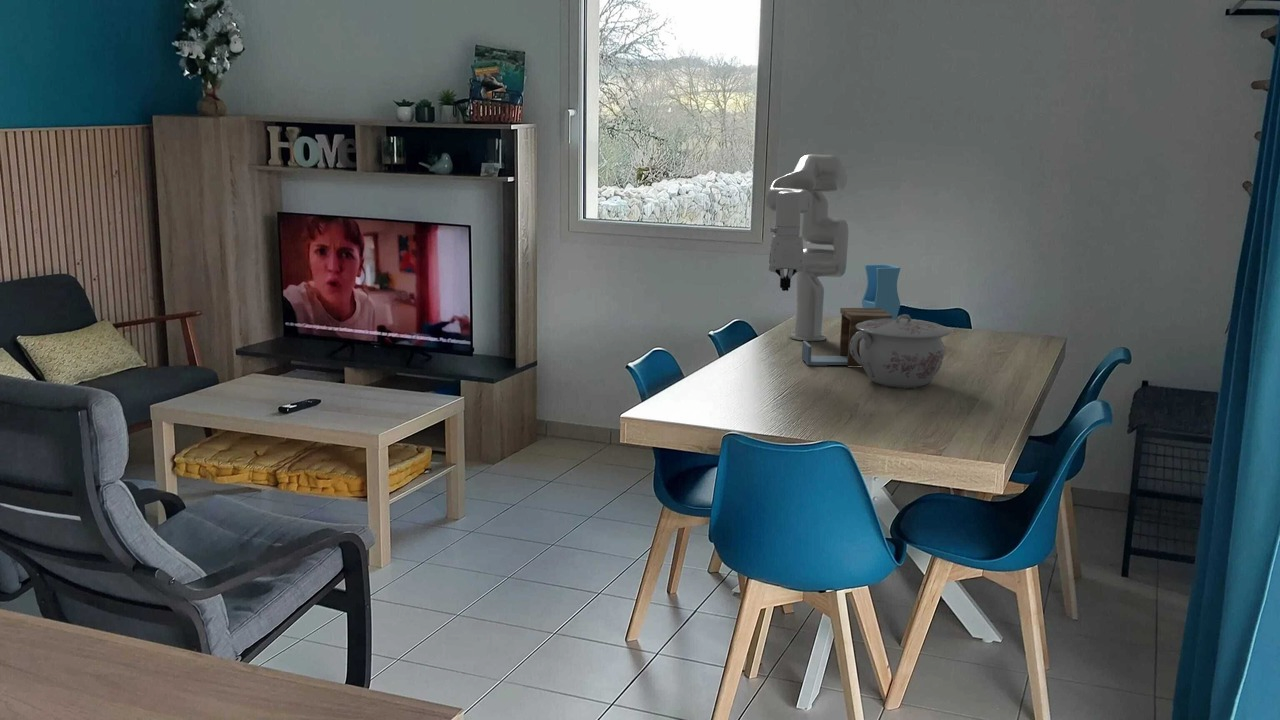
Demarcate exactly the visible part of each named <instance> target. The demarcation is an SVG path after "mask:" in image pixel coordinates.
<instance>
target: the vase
mask: <svg viewBox="0 0 1280 720" xmlns="http://www.w3.org/2000/svg"><path fill="white" fill-rule="evenodd" d="M864 269H865V273H866V274H865V275H866V281H867V283H866V288H865V289H866V290H865V292H864V295H863V297H862V299H861V304H862V305H861V306H862V308H881V309H882V310H884V311H886V312H887V313H889V314H890V315H892V318H897V317H898V316H899V311H900V308H901V301H900V297H899V292H898V279H899V274H900V272H901V267H900V266H896V265H893V264H884V263H883V264H864Z"/></svg>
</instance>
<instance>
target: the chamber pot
mask: <svg viewBox="0 0 1280 720" xmlns="http://www.w3.org/2000/svg"><path fill="white" fill-rule="evenodd" d="M856 328H857V329H858V330H860V331H858V332H857V333H856V334H855V335H854V336H852V338H851V340H850V346H849V349H850V353H851V355H852V356H853V358H854V360H855V361H856V362H857V363H859V364H860V365H861V366H862V367H861V368H863V369H864V371H865V373H866V375H867V377H868V378H869V380H871V381H872V382H874V383H876V384H879V385H880V384H881V386H883V385H885V386H884V387H887V386H890V387H889V388H893V387H898V388H897V389H914V387H916V388H920V387H923V386H926V385H929V384H930V383H931V382H932V381H933V379H934V378H935V377H936V375H937V374H938V372H939V371H940V369H941V368H942V365H943V361H944V358H945V351H946V350H945V349H946V345H945V343H944V342H943V340H942V338H943V337H946V336H949V335H951V333H952V330H951V329H950V328H949V327H947V326H944V325H941V324H939V323H936V322H933V321H931V322H930V321H927V320H922V319H916V318H915V319H914V318H911V316H910V314H907V313H906V314H905V313H904V314H900V315H897V318H882V319H872V320H867V321H863V322H859V323H858V324H857V325H856ZM859 339H861V340H860V342H859V354H860V357H859V355H858V353H857V343H858V340H859Z"/></svg>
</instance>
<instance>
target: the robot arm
mask: <svg viewBox="0 0 1280 720" xmlns="http://www.w3.org/2000/svg"><path fill="white" fill-rule="evenodd" d="M847 176H848V175H847V170H846V169H845V167H844V164H843V162H842V160H841V159H840V157H838V156H836V155H834V154H814V153H813V154H811V153H810V154H806V155H803V156H802V157H800V158H799V160H798V162H797V163H796V164H795V167H794V170H793V171H792V172H790V173H787V174H785V175H783V176H781V177H779V178H776V179H775V180H774V181H773V182H772V183H771V185H770V187H769V189H768V191H767V194H766V198H765V203H766V207H767V209H768V210H769V211H771V212H774V213H775V224H774V227H770V233H773V234H774V235H772V238H771V243H770V248H769V249H770V250H769V257H768V258H769V261H768V263H769V266H768V271H769V272H772V273H776V274H777V275H778V276H779V277H780V279H779V281H780V282H779V288H781V291H782V292H789V289H790V288H791V280H792V278H793V276H795V274H796V298H795V315H794V316H795V317H794V319H795V320H794V331H793V332H791V333H790V334H789V337H790V339H793V340H796V341H802V340H803V341H806V342H819V341H825V340H826V339H827V335H826V334H825V333H823V320H824V319H823V318H824V300H825V299H824V298H825V287H824V285H823V283H822V282H821V281H820V279H819V278H818V277H821V278H840V277H841V278H842V277H843V276H844V275H845V273H846V270H847V263H848V262H847V261H848V260H847V259H848V249H849V248H848V245H849V226H848V223H847V221H846V219H843V218H842V217H841V218H839V217H829V215H828V214H829V201H828V199H827V197H826V196H825V194H824V193H823V192H826V193H827V192H829V193H834V192H835V193H839V192H840V193H841V192H842V191H844V190H845V188H846V185H847V181H848V180H847V179H848V177H847ZM801 214H802V223H801ZM800 226H801V227H800ZM800 228H801V229H800ZM800 230H801V235H800ZM804 243H805V244H808V245H819V246H831V247H833V249H828V248H827V249H825V248H816V247H815V248H811V247H807V248H804ZM785 270H787V271H786V274H785ZM803 341H802V342H803Z"/></svg>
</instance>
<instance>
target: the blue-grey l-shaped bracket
mask: <svg viewBox="0 0 1280 720" xmlns="http://www.w3.org/2000/svg"><path fill="white" fill-rule="evenodd" d="M801 348H802V349H801V350H802V351H801V360H802V359H803V360H804V361H805V362H806V363H805V362H804V361H803V360H802V361H803V362H804V363H805V364H806V365H807V366H827V365H847V361H848V356H839V355H812V346H811V344H809V342H808V341H802V347H801Z"/></svg>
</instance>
